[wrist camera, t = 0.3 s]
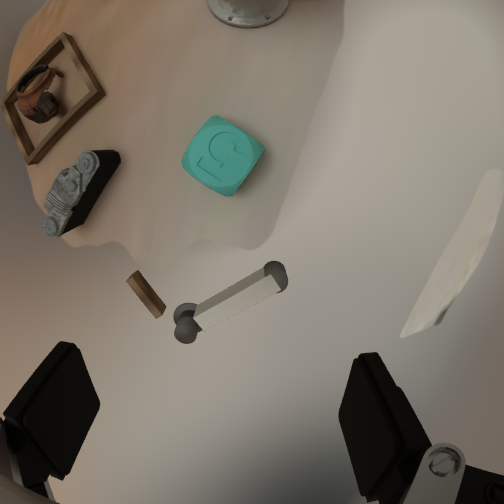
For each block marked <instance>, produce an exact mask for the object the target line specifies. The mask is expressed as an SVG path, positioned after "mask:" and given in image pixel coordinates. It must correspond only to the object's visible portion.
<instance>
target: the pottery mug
mask: <svg viewBox="0 0 504 504" xmlns="http://www.w3.org/2000/svg"><path fill="white" fill-rule="evenodd" d="M45 71H46V73H45V76H44V77H43V78H42V80H41V81H40V82H39V83H38V84H37V85H36V86H35V87H33V88H32V89H30V90H28V91H26V92H23V93H22V92H20V91H21V88H22V86H24V87H26V85H27V83H28V82H29V80H30V79H32V78H33V77H34V76H35V75H37V74H40V73H42V72H45ZM55 74H57V75H58V76H59V77H63V76H62V74H61V73H60V72H59V71H58V70H56V69H53V68H49V67H48V65H47V64H41V65H38V66H36V67H35V68H32V69H31V70H29V71H28V72H27V73H26V74H25V75H23V76H22V78H21V79H20V80H19V82H18V83H17V85H16V87H15V94H16V95H17V101H18V108H19V110H20V111H21V112H22V114H23V115H24V116H25V117H27V118H28V119H30V120H32V121H34V122H36V123H44V122H46V121H48V120H50V119H51V118H52V117H54V116H55V115H56V114H57V113H58V107H59V103H58V102H57V101H56V100H55V97H54V96H53V94H52V93H49V92H44V93H43V91H44V89H47V90H48V89H49V87H50V85H51V83H52V81H53V78H54V76H55ZM36 107H37V108H39V109H38V110H36V109H35V108H36Z"/></svg>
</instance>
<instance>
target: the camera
mask: <svg viewBox="0 0 504 504" xmlns="http://www.w3.org/2000/svg"><path fill="white" fill-rule="evenodd" d="M120 163H121V159H120V156H119V154H118V152H116V151H114V150H93V151H84V152H83V153H82V154H81V155H80V156H79V158H78V160H77V163H76V165H75V166H72V167H71V168H66V169H64V170H63V171H62V172H60V174H59V175H58V176H57V177H56V179H55V181H54V183H53V185H52V187H51V189H50V191H49V193H48V195H47V198H46V200H45V203H44V207H45V208H46V210H47V211H48V214H47V217H46V219H45V221H44V224H43V228H44V231H45V233H46V234H47V235H49V236H50V237H53V238H58V237H59V236H61V235H63V234H64V233H66V232H68V231H70V230H72V229H74V228H76V227H78V226H80V225H82V224H84V222H85V220H86V218H87V216H88V215H89V213H90V211H91V209H92V208H93V206H94V204H95V202H96V201H97V199H98V197H99V196H100V194H101V192H102V191H103V189H104V188H105V186H106V184H107V183H108V181H109V179H110V178H111V176H112V175H113V173H114V172H115V170H116V169H117V167H118V166H119V164H120Z"/></svg>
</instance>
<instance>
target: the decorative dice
mask: <svg viewBox="0 0 504 504" xmlns="http://www.w3.org/2000/svg"><path fill="white" fill-rule="evenodd" d="M264 150H265V148H264V146H263V145H262V144H260V143H259V142H258V141H257V140H255V139H254V138H252V137H251V136H250V135H248V134H247V133H245V132H244V131H242V130H241V129H239V128H238V127H236V126H235V125H233V124H231V123H230V122H228V121H226V120H225V119H223V118H221V117H219V116H213V117H211V118H210V119H209V120H208V121H207V122H206V123H205V124H204V125H203V126H202V127H201V129H200V130H199V131H198V133H197V134H196V135H195V137H194V138H193V140H192V141H191V143H190V144H189V146H188V148H187V150H186V152H185V154H184V156H183V159H182V165H183V168H184V169H185V170H186V171H187V172H188V173H189V174H190V175H191V176H193V177H194V178H195V179H197V180H198V181H200V182H201V183H203V184H204V185H206V186H207V187H209V188H211V189H212V190H214V191H216V192H218V193H220V194H222V195H225V196H232V195H233V194H234V193H235V192H236V190H237V189H238V188H239V186H240V185H241V184H242V182H243V181H244V180H245V178H246V177H247V175H248V174H249V173H250V171H251V170H252V168H253V167H254V165H255V164H256V163H257V161H258V160H259V158H260V157H261V155H262V154H263V152H264Z"/></svg>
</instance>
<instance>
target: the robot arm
mask: <svg viewBox="0 0 504 504" xmlns="http://www.w3.org/2000/svg"><path fill="white" fill-rule="evenodd" d="M207 3H208V7H209V9H210V11H211V12H212V14H213V15H214V16H215V17H216V18H218V19H219V20H220V21H222V22H224V23H226V24H228V25H232V26H235V27H241V28H253V27H260V26H264V25H267V24H269V23H272V22H274V21H275V20H277V19H278V18H279V17H281V16H282V15H283V13H284V12H285V11H286V9H287V6H288V3H289V0H207ZM267 19H269V20H267ZM229 20H232V21H229ZM99 408H100V401H99V398H98V396H97V393H96V391H95V388H94V386H93V383H92V381H91V378H90V376H89V373H88V371H87V368H86V365H85V362H84V360H83V357H82V354H81V351H80V349H79V348H77V346H76V345H75V344H74V343H69V342H63V341H61V342H59V343H58V344H57V345H56V346H55V347H54V348H53V350H52V351H51V352H50V353H49V354H48V356H47V357H46V358H45V359H44V360H43V362H42V363H41V364H40V365H39V367H38V368H37V369H36V370H35V372H34V373H33V374H32V375H31V377H30V378H29V379H28V381H27V382H26V383H25V384H24V386H23V387H22V389H21V390H20V391H19V392H18V394H17V395H16V397H15V398H14V399H13V400H12V402H11V403H10V404H9V406H8V407H7V408H6V410H5V411H4V413H3V414H4V416H5V420H4V421H3V420H2V418H1V417H0V504H59V503H57V502H56V501H55V499H54V496H53V493H52V491H51V488H50V485H49V482H48V477H49V474H50V475H51V476H52V477H55V478H57V479H59V480H63V479H64V477H65V475H68V474H69V473H70V471H71V469H72V466H73V464H74V462H75V460H76V457H77V455H78V453H79V451H80V449H81V446H82V444H83V442H84V440H85V438H86V436H87V433H88V431H89V429H90V427H91V425H92V423H93V421H94V419H95V417H96V415H97V412H98V411H99ZM339 422H340V425H341V429H342V432H343V435H344V439H345V442H346V446H347V449H348V452H349V456H350V460H351V463H352V467H353V470H354V474H355V477H356V480H357V484H358V488H359V492H360V494H361V496H366V499H367V503H368V502H372V501H376V500H378V501H379V504H504V476H503V475H499V474H495V473H492V472H488V471H485V470H481V469H478V468H475V467H472V466H468V465H465V462H466V461H465V457H464V455H463V453H462V451H461V450H460V449H459V448H457V447H456V446H454V445H452V444H447V443H439V444H436V445H433V446H432V444H431V442H430V440H429V438H428V437H427V435H426V433H425V431H424V429H423V427H422V425H421V423H420V421H419V419H418V418H417V416H416V414H415V412H414V410H413V408H412V407H411V405H410V403H409V401H408V399H407V398H406V396H405V394H404V392H403V391H402V390H401V388H400V387H398V386H396V384H395V382H394V380H393V378H392V377H391V375H390V373H389V371H388V370H387V368H386V366H385V364H384V363H383V361H382V359H381V357H380V356H379V354H378V353H377V352H372V353H362V354H360V355H359V356H358V358H355V359H354V360H353V364H352V367H351V371H350V375H349V379H348V382H347V386H346V389H345V393H344V396H343V399H342V403H341V406H340V409H339Z"/></svg>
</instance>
